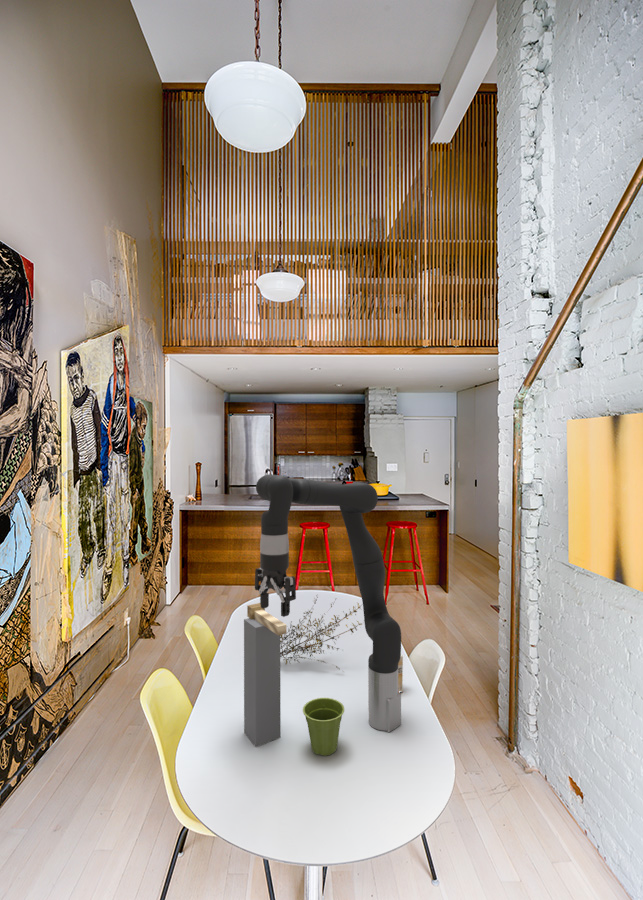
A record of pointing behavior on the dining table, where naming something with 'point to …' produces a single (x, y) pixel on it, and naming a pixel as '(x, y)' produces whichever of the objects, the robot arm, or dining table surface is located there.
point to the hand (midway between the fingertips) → (274, 611)
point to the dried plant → (312, 636)
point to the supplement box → (400, 673)
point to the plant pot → (323, 724)
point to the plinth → (261, 683)
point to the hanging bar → (266, 619)
